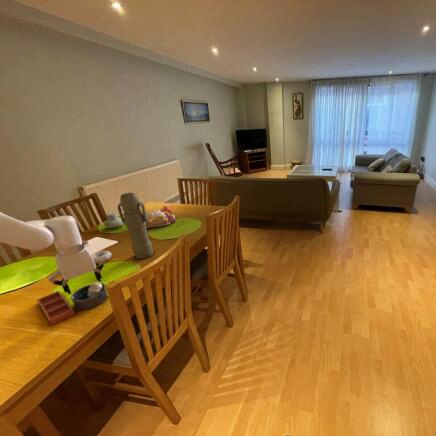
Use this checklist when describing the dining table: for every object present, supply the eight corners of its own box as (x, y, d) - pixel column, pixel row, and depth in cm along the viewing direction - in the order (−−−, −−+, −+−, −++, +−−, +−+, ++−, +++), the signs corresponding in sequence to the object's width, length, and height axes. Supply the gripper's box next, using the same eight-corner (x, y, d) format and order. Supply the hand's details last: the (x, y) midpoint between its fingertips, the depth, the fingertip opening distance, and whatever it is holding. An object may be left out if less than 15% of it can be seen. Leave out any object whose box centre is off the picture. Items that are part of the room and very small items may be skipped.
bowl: (80, 314, 92) (76, 305, 90) (71, 302, 98) (67, 293, 96) (113, 298, 100) (110, 289, 98) (103, 288, 106) (100, 279, 104)
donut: (98, 255, 132) (84, 265, 123) (96, 249, 131) (82, 259, 122) (116, 254, 133) (104, 264, 123) (114, 249, 131) (102, 258, 122)
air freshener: (126, 225, 169) (122, 212, 165) (115, 230, 162) (111, 216, 158) (114, 223, 172) (110, 210, 168) (103, 228, 165) (99, 214, 161)
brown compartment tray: (51, 325, 87) (49, 321, 86) (39, 303, 97) (36, 299, 96) (75, 314, 92) (73, 309, 91) (60, 294, 102) (58, 290, 102)
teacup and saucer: (88, 243, 145) (85, 237, 143) (97, 245, 142) (95, 239, 141) (71, 250, 137) (69, 244, 136) (81, 252, 135) (78, 246, 133)
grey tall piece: (155, 257, 130) (139, 195, 117) (130, 260, 127) (110, 197, 113) (158, 249, 138) (143, 190, 124) (134, 252, 134) (116, 192, 121)
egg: (87, 300, 96) (93, 284, 97) (84, 297, 98) (89, 281, 99) (100, 299, 99) (105, 284, 100) (96, 296, 102) (102, 281, 103)
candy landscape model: (178, 224, 171) (175, 212, 167) (140, 232, 159) (136, 219, 156) (173, 213, 190) (171, 202, 187) (139, 219, 179) (136, 208, 175)
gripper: (95, 237, 98) (106, 273, 104) (36, 254, 85) (53, 294, 91) (102, 242, 94) (113, 279, 100) (41, 261, 81) (58, 302, 87)
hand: (84, 286), depth 96 cm, fingers open, 9 cm apart
